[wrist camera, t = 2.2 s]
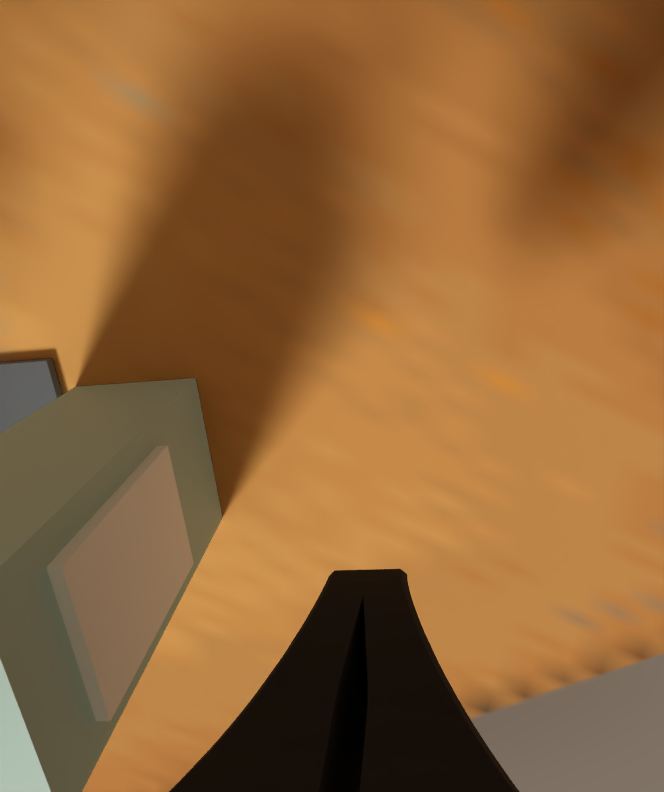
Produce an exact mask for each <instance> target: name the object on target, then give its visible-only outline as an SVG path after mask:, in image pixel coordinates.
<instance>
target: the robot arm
mask: <svg viewBox="0 0 664 792" xmlns="http://www.w3.org/2000/svg"><path fill="white" fill-rule="evenodd" d="M169 792H519V791H518V789H517V788H516V787H515V785H514V784H513V783H512V781H511V780H510V778H509V777H508V775H507V774H506V773H505V771H504V770H503V768H502V767H501V765H500V764H499V762H498V761H497V760H496V758H495V757H494V755H493V754H492V752H491V751H490V749H489V748H488V746H487V745H486V743H485V742H484V740H483V739H482V737H481V736H480V734H479V732H478V731H477V729H476V728H475V726H474V725H473V723H472V721H471V720H470V718H469V717H468V715H467V713H466V712H465V710H464V708H463V706H462V705H461V703H460V701H459V700H458V698H457V696H456V694H455V692H454V691H453V689H452V687H451V685H450V683H449V682H448V680H447V678H446V676H445V674H444V672H443V670H442V668H441V666H440V664H439V663H438V661H437V658H436V656H435V654H434V652H433V650H432V648H431V646H430V643H429V641H428V639H427V637H426V635H425V633H424V630H423V628H422V626H421V623H420V621H419V618H418V615H417V613H416V610H415V607H414V604H413V601H412V598H411V595H410V591H409V586H408V581H407V574H406V573H405V572H403V571H402V570H401V569H380V570H341V571H334V572H333V573H332V574H331V575H330V576H329V578H328V580H327V582H326V584H325V586H324V588H323V590H322V592H321V594H320V596H319V598H318V599H317V601H316V603H315V605H314V607H313V608H312V610H311V612H310V614H309V615H308V617H307V619H306V620H305V622H304V624H303V625H302V627H301V629H300V630H299V632H298V633H297V635H296V636H295V638H294V640H293V641H292V643H291V644H290V646H289V648H288V649H287V651H286V652H285V654H284V655H283V657H282V658H281V660H280V661H279V662H278V664H277V665H276V667H275V668H274V669H273V671H272V672H271V674H270V675H269V676H268V678H267V679H266V681H265V682H264V683H263V685H262V686H261V687H260V689H259V690H258V692H257V693H256V694H255V696H254V697H253V698H252V700H251V701H250V702H249V703H248V705H247V706H246V707H245V708H244V710H243V711H242V712H241V713H240V715H239V716H238V717H237V718H236V720H235V721H234V722H233V723H232V724H231V725H230V727H229V728H228V729H227V730H226V731H225V732H224V734H223V735H222V736H221V737H220V738H219V739H218V741H217V742H216V743H215V744H214V745H213V746H212V747H211V748H210V750H209V751H208V752H207V753H206V754H205V755H204V756H203V757H202V758H201V759H200V760H199V761H198V762H197V763H196V764H195V765H194V767H193V768H192V769H191V770H190V771H189V772H188V773H187V774H186V775H185V776H184V777H183V778H182V779H181V780H180V781H179V782H178V783H177V784H176V785H175V786H174V787H173V788H172V789H171V790H170V791H169Z"/></svg>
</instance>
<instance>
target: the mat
mask: <svg viewBox="0 0 664 792" xmlns="http://www.w3.org/2000/svg"><path fill="white" fill-rule="evenodd" d="M61 395H62V392H61V389H60V385H59V382H58V378H57V374H56V371H55V367H54V364H53V360H52V358H48V359H35V360H23V361H10V362H0V434H1V433H2V432H4V431H6V430H7V429H9V428H10V427H12V426H14V425H15V424H17V423H18V422H20V421H22V420H23V419H25V418H26V417H28V416H29V415H31V414H33V413H34V412H36V411H37V410H39V409H41V408H42V407H44V406H45V405H47V404H49V403H50V402H52V401H53V400H55V399H57V398H58V397H60V396H61Z"/></svg>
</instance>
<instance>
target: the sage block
mask: <svg viewBox="0 0 664 792" xmlns="http://www.w3.org/2000/svg"><path fill="white" fill-rule="evenodd" d="M222 518H223V517H222V512H221V507H220V501H219V496H218V491H217V486H216V481H215V476H214V471H213V465H212V460H211V455H210V450H209V445H208V440H207V435H206V429H205V424H204V419H203V414H202V409H201V404H200V399H199V393H198V388H197V383H196V378H188V379H174V380H161V381H147V382H133V383H119V384H105V385H92V386H78V387H74V388H73V389H71V390H69V391H68V392H66V393H65V394H63V395H61V396H60V397H58V398H57V399H55V400H53V401H52V402H50V403H49V404H47V405H45V406H44V407H42V408H41V409H39V410H37V411H36V412H34V413H33V414H31V415H29V416H28V417H26V418H25V419H23V420H22V421H20V422H18V423H17V424H15V425H14V426H12V427H10V428H9V429H7V430H6V431H4V432H2V433H1V434H0V792H82V791H83V789H84V787H85V785H86V783H87V781H88V779H89V777H90V775H91V773H92V771H93V769H94V767H95V765H96V763H97V761H98V759H99V757H100V755H101V753H102V752H103V750H104V748H105V746H106V744H107V742H108V740H109V738H110V736H111V734H112V732H113V730H114V728H115V726H116V724H117V722H118V720H119V718H120V716H121V715H122V713H123V711H124V709H125V707H126V705H127V703H128V701H129V699H130V697H131V695H132V693H133V691H134V689H135V687H136V685H137V683H138V681H139V679H140V677H141V676H142V674H143V672H144V670H145V668H146V666H147V664H148V662H149V660H150V658H151V656H152V654H153V652H154V650H155V648H156V646H157V644H158V642H159V640H160V639H161V637H162V635H163V633H164V631H165V629H166V627H167V625H168V623H169V621H170V619H171V617H172V615H173V613H174V611H175V609H176V607H177V605H178V603H179V601H180V600H181V598H182V596H183V594H184V592H185V590H186V588H187V586H188V584H189V582H190V580H191V578H192V576H193V574H194V572H195V570H196V568H197V566H198V564H199V563H200V561H201V559H202V557H203V555H204V553H205V551H206V549H207V547H208V545H209V543H210V541H211V539H212V537H213V535H214V533H215V531H216V529H217V527H218V525H219V524H220V522H221V520H222Z"/></svg>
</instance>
